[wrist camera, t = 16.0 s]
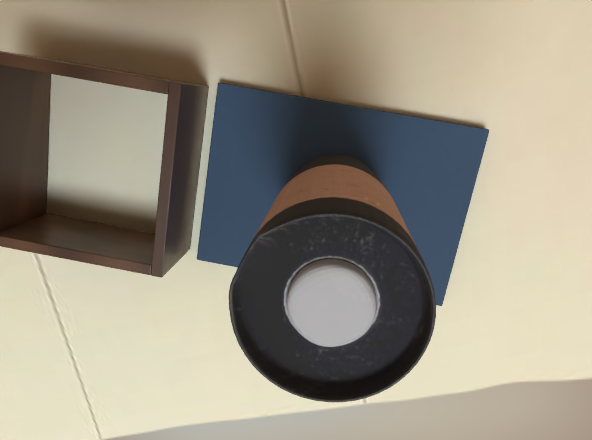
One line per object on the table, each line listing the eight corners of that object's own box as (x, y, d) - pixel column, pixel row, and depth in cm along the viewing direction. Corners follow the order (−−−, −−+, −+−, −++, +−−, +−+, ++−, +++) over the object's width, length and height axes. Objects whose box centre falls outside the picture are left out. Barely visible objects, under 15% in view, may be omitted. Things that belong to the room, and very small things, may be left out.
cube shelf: (37, 220, 40) (-20, 242, 34) (41, 57, 36) (-20, 48, 30) (189, 249, 39) (161, 277, 33) (208, 86, 36) (181, 83, 30)
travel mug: (394, 234, 36) (459, 386, 17) (299, 256, 38) (258, 422, 18) (372, 137, 35) (416, 184, 16) (273, 162, 36) (198, 236, 17)
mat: (200, 255, 39) (196, 259, 38) (221, 82, 36) (217, 82, 35) (439, 301, 39) (442, 306, 38) (485, 128, 35) (489, 129, 34)
